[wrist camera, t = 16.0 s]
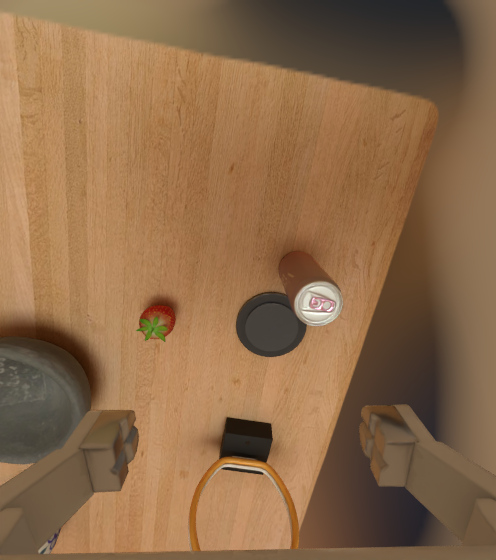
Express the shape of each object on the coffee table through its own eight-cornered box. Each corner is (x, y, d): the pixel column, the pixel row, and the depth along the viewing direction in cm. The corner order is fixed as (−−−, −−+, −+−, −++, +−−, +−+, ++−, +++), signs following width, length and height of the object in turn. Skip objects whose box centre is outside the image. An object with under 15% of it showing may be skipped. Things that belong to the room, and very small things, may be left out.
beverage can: (309, 289, 48) (335, 332, 34) (274, 281, 48) (286, 322, 34) (319, 254, 47) (352, 285, 32) (283, 246, 46) (300, 274, 32)
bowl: (37, 439, 58) (-4, 489, 48) (-48, 351, 52) (-114, 389, 42) (133, 393, 55) (110, 437, 45) (55, 294, 48) (8, 321, 39)
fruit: (162, 329, 51) (147, 355, 43) (142, 307, 49) (124, 329, 42) (187, 313, 50) (176, 337, 42) (167, 290, 48) (153, 309, 41)
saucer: (307, 291, 49) (309, 294, 47) (304, 353, 52) (305, 358, 51) (235, 292, 48) (235, 295, 47) (237, 355, 52) (237, 359, 51)
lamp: (290, 426, 57) (340, 694, 27) (281, 460, 60) (316, 737, 30) (206, 414, 56) (160, 678, 26) (200, 449, 59) (152, 725, 29)
